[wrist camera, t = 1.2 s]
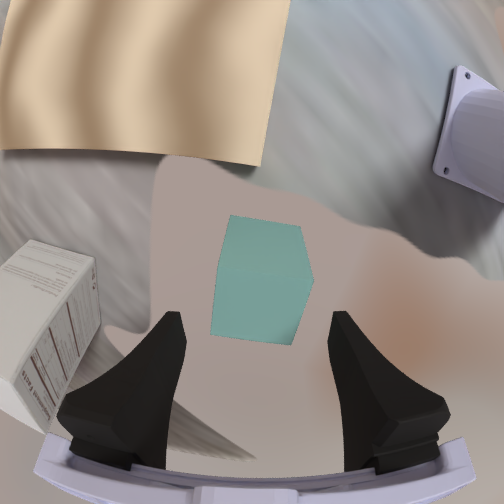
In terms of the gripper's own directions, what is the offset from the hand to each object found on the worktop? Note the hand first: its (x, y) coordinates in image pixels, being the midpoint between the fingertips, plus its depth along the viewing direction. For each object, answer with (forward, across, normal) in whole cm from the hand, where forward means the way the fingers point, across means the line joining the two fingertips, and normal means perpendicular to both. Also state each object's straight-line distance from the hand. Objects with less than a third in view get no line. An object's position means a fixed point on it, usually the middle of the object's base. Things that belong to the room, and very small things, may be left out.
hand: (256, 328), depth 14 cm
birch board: (+7, +8, -16) cm, 19 cm away
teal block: (+7, 0, 0) cm, 7 cm away
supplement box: (+8, +17, +3) cm, 19 cm away
